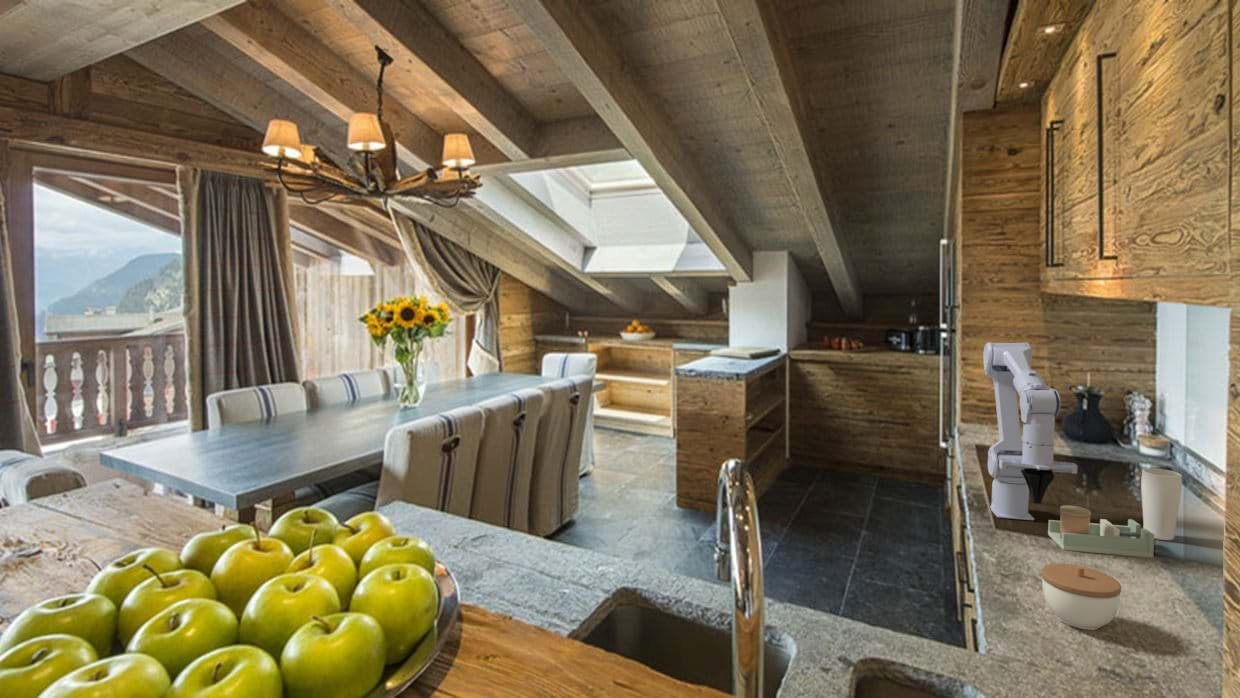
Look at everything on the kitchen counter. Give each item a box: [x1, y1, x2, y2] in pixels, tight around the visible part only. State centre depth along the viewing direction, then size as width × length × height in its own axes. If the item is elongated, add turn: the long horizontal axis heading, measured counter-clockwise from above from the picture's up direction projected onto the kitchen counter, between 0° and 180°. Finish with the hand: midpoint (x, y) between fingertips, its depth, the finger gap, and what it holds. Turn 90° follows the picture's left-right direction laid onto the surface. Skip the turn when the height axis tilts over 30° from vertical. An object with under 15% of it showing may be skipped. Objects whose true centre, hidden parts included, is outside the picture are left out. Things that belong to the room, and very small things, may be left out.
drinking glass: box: [1140, 467, 1183, 541], centre depth 135 cm, size 7×7×15 cm
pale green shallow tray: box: [1047, 518, 1155, 559], centre depth 132 cm, size 9×16×5 cm, turn 72°
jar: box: [1059, 504, 1092, 539], centre depth 133 cm, size 5×5×7 cm
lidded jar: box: [1040, 563, 1122, 630], centre depth 102 cm, size 11×11×9 cm
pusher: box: [1099, 518, 1141, 538], centre depth 130 cm, size 6×8×4 cm
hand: (1036, 502), depth 135 cm, fingers closed
